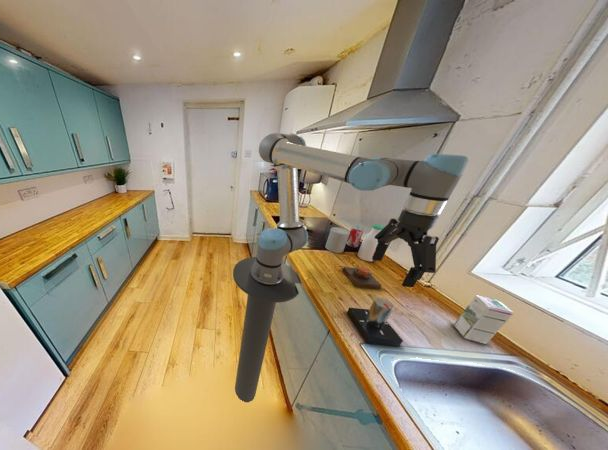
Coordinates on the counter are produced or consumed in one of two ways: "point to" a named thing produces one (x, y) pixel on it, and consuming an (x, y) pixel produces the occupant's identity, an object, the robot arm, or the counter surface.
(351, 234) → the soda can
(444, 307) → the counter surface
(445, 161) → the robot arm
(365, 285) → the dark square plate
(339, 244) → the grey cylinder
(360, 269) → the dispense button
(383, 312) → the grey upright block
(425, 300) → the counter surface
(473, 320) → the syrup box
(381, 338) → the control panel
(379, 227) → the milk bottle
